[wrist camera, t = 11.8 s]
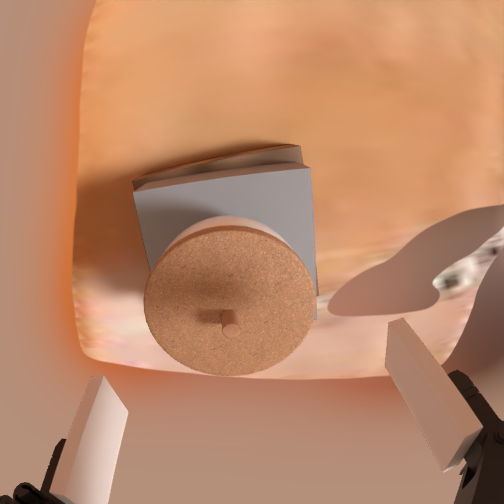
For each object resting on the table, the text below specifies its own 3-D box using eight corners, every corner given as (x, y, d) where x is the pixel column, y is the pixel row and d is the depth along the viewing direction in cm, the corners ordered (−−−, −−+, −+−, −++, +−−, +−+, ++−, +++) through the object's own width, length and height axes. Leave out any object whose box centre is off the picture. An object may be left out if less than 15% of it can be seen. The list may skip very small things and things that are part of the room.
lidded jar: (306, 213, 25) (349, 260, 16) (274, 324, 29) (293, 398, 20) (172, 187, 23) (143, 223, 14) (158, 306, 27) (136, 380, 18)
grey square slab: (296, 161, 28) (310, 167, 24) (304, 294, 33) (316, 319, 29) (147, 182, 28) (132, 192, 23) (176, 311, 33) (169, 338, 28)
